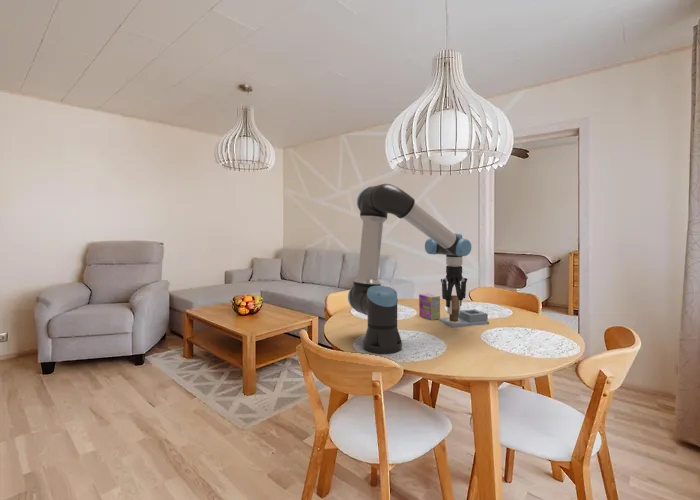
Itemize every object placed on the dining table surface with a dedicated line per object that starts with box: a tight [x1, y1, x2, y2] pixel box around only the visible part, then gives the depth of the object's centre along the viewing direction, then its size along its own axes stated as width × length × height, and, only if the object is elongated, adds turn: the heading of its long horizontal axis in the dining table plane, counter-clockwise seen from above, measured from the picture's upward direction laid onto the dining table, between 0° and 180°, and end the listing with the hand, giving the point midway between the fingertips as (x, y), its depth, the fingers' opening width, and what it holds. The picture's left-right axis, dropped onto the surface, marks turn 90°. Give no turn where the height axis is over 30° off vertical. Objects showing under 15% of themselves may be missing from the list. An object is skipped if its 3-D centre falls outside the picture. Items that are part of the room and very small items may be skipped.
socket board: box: [438, 309, 490, 328], centre depth 171 cm, size 12×20×5 cm, turn 106°
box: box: [418, 292, 441, 321], centre depth 181 cm, size 10×6×12 cm, turn 25°
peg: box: [448, 294, 458, 322], centre depth 169 cm, size 4×4×12 cm
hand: (453, 313), depth 169 cm, fingers closed on peg, 4 cm apart
